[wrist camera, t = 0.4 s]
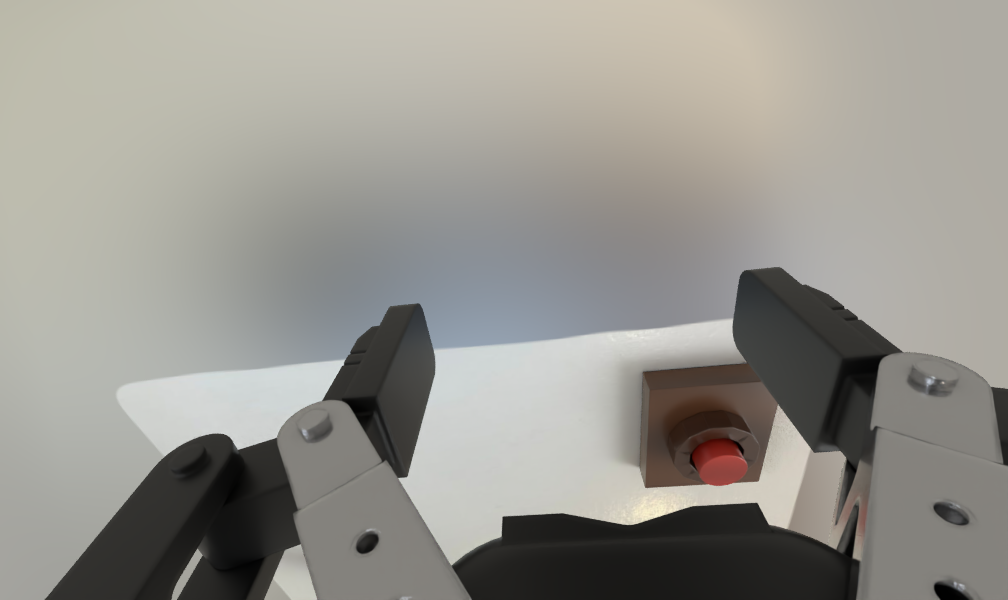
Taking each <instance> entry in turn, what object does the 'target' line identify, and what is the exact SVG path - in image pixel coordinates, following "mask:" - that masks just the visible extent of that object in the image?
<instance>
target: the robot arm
mask: <svg viewBox="0 0 1008 600" xmlns="http://www.w3.org/2000/svg"><path fill="white" fill-rule="evenodd" d="M733 337H734V341H735V344H736V347H737V349H738V350H739V352H740V353H741V354H742V356H743V357H744V358H745V360H746V361H747V363H748V364H749V365H750V367H751V368H752V369H753V371H754V372H755V373H756V375H757V376H758V377H759V379H760V380H761V381H762V383H763V384H764V386H765V387H766V388H767V390H768V391H769V392H770V394H771V395H772V396H773V398H774V399H775V400H776V402H777V403H778V404H779V406H780V407H781V408H782V410H783V411H784V413H785V414H786V415H787V417H788V418H789V419H790V421H791V422H792V423H793V425H794V426H795V427H796V429H797V430H798V431H799V433H800V434H801V436H802V437H803V438H804V440H805V441H806V442H807V444H808V445H809V446H810V448H811V449H812V450H813V452H814V453H816V452H830V451H831V452H832V451H841V452H842V453H843V454H844V455H845V457H846V460H845V463H844V465H843V468H842V471H841V477H840V482H839V488H838V493H837V498H836V504H835V509H834V514H833V520H832V525H831V531H830V536H829V541H828V545H826V544H824V543H822V542H820V541H818V540H815V539H813V538H811V537H808V536H805V535H803V534H800V533H797V532H795V531H791V530H788V529H784V528H781V527H777V526H772V525H769V524H768V522H767V521H766V519H765V517H764V515H763V513H762V511H761V509H760V507H759V505H758V503H745V504H727V505H709V506H692V507H689V508H685V509H682V510H679V511H676V512H673V513H670V514H667V515H663V516H660V517H657V518H654V519H651V520H648V521H644V522H641V523H638V524H634V525H622V524H617V523H611V522H606V521H601V520H595V519H590V518H584V517H579V516H574V515H568V514H563V513H561V514H543V515H524V516H506V517H503V520H502V537H500V538H497V539H494V540H491V541H489V542H487V543H485V544H483V545H481V546H479V547H477V548H475V549H474V550H472V551H470V552H469V553H467V554H466V555H464V556H463V557H462V558H460V559H459V560H458V561H457V562H455V563H454V564H453V565H452V566H451V565H450V563H449V561H448V560H447V558H446V556H445V555H444V553H443V551H442V550H441V548H440V547H439V545H438V543H437V542H436V540H435V538H434V537H433V535H432V533H431V532H430V530H429V529H428V527H427V525H426V524H425V522H424V520H423V519H422V517H421V515H420V514H419V512H418V510H417V509H416V507H415V506H414V504H413V502H412V501H411V499H410V497H409V496H408V494H407V492H406V491H405V489H404V488H403V486H402V484H401V483H400V481H399V479H398V478H402V477H407V476H408V472H409V468H410V465H411V461H412V457H413V454H414V450H415V446H416V442H417V439H418V435H419V431H420V428H421V424H422V420H423V416H424V413H425V409H426V405H427V402H428V398H429V394H430V390H431V387H432V383H433V379H434V375H435V355H434V350H433V347H432V343H431V339H430V335H429V331H428V328H427V324H426V320H425V316H424V312H423V309H422V307H421V305H420V304H408V305H398V306H390V307H389V309H388V311H387V313H386V314H385V316H384V318H383V320H382V322H381V324H380V326H374V327H371V328H370V329H369V330H368V331H366V332H365V333H364V334H363V335H362V336H361V337H360V338H358V339H357V341H356V343H355V345H354V346H353V348H352V350H351V352H350V353H351V354H350V355H348V357H347V359H346V360H345V362H344V366H342V367H341V369H340V371H339V373H338V374H337V376H336V378H335V379H334V381H333V383H332V385H331V386H330V388H329V390H328V392H327V393H326V395H325V397H324V399H323V400H322V401H321V402H317V403H314V404H312V405H309V406H307V407H305V408H303V409H301V410H300V411H298V412H297V413H295V414H294V415H293V416H291V417H290V418H289V419H288V420H287V421H286V422H285V423H284V425H283V426H282V427H281V429H280V431H279V433H278V436H277V438H275V439H272V440H269V441H265V442H262V443H259V444H256V445H253V446H249V447H246V448H243V449H240V450H237V448H236V446H235V445H234V443H233V441H232V440H231V438H230V437H228V436H227V435H224V434H209V435H205V436H201V437H198V438H196V439H193V440H191V441H189V442H186V443H185V444H183V445H181V446H179V447H178V448H176V449H175V450H173V451H172V452H170V453H169V454H168V455H166V456H165V457H164V458H163V459H162V460H161V461H160V462H159V463H158V464H157V465H156V466H155V467H154V468H153V470H152V471H151V472H150V473H149V474H148V476H147V477H146V478H145V479H144V481H143V482H142V483H141V484H140V485H139V486H138V488H137V489H136V490H135V492H133V494H132V495H131V496H130V498H129V499H128V500H127V501H126V502H125V503H124V505H123V506H122V507H121V509H119V511H118V512H117V513H116V514H115V515H114V517H113V518H112V519H111V520H110V522H109V523H108V524H107V525H106V526H105V528H104V529H103V530H102V531H101V532H100V534H99V535H98V536H97V537H96V538H95V540H94V541H93V542H92V543H91V544H90V546H89V547H88V548H87V549H86V551H85V552H84V553H83V554H82V555H81V557H80V558H79V559H78V560H77V561H76V563H75V564H74V565H73V566H72V568H71V569H70V570H69V571H68V573H67V574H66V575H65V576H64V577H63V578H62V580H61V581H60V582H59V583H58V585H57V586H56V587H55V588H54V589H53V591H52V592H51V593H50V594H49V596H48V597H47V598H46V599H45V600H171V599H172V594H173V590H174V588H175V586H176V583H177V582H178V580H179V578H180V576H181V574H182V573H183V571H184V570H185V568H186V566H187V565H188V563H189V561H190V560H191V558H192V556H193V555H194V553H195V551H196V550H197V548H198V549H199V551H200V552H201V553H202V555H203V556H202V558H201V559H200V561H199V563H198V564H197V566H196V568H195V570H194V571H193V573H192V575H191V577H190V578H189V580H188V582H187V583H186V585H185V587H184V588H183V590H182V592H181V594H180V596H179V597H178V599H177V600H264V598H265V596H266V593H267V591H268V589H269V586H270V584H271V581H272V579H273V577H274V574H275V572H276V570H277V567H278V565H279V562H280V560H281V558H282V555H283V553H284V551H285V550H286V549H289V548H291V547H294V546H297V545H300V544H301V546H302V549H303V552H304V556H305V559H306V562H307V566H308V569H309V573H310V576H311V579H312V583H313V586H314V590H315V593H316V596H317V600H1008V389H1004V388H994V387H990V385H989V384H988V383H987V381H986V380H985V379H984V378H983V377H981V376H980V375H979V374H977V373H976V372H974V371H973V370H970V369H969V368H967V367H965V366H963V365H961V364H958V363H956V362H954V361H950V360H948V359H945V358H942V357H937V356H933V355H928V354H922V353H910V352H909V353H908V352H905V353H903V352H902V351H901V350H900V349H898V348H897V347H896V346H894V345H893V344H892V343H890V342H889V341H888V340H887V339H885V338H884V337H883V336H881V335H880V334H879V333H878V332H876V331H875V330H874V329H872V328H871V327H870V326H869V325H867V324H866V323H865V322H863V321H862V320H858V317H857V316H856V315H854V314H853V313H852V312H850V311H849V310H848V309H844V306H843V305H841V304H840V303H839V302H838V301H836V300H835V299H834V298H832V297H831V296H830V295H829V294H826V293H824V292H822V291H819V290H817V289H814V288H812V287H810V286H807V285H802V284H800V283H799V282H798V281H797V280H795V279H794V278H793V277H792V276H791V275H789V274H788V273H787V272H786V271H784V270H783V269H782V268H780V267H774V268H765V269H754V270H746V271H744V272H742V274H741V276H740V279H739V285H738V291H737V298H736V306H735V313H734V319H733Z"/></svg>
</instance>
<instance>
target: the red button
mask: <svg viewBox="0 0 1008 600" xmlns="http://www.w3.org/2000/svg"><path fill="white" fill-rule="evenodd" d="M692 459H693V461H694V464H695V466H696V469H697V471H698V473H699V476H700V478H701V479H702V480H703V481H704V482H705V483H707V484H710V485H715V486H723V485H728V484H732V483H734V482H736V481H738V480H740V479H741V478H742V477H743V476H744V475H745V474H746V472H747V468H748V466H747V463H746V461H745V459H744V457H743V455H742V453H741V452H740V450H739V448H738V446H737V444H736V443H735V442H733V441H732V440H730V439H727V438H720V439H711V440H708V441H706V442H704V443H701V444H699V445H698V446H697V447H696V448H695V449H694V450H693V453H692Z"/></svg>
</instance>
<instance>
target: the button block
mask: <svg viewBox="0 0 1008 600" xmlns="http://www.w3.org/2000/svg"><path fill="white" fill-rule="evenodd" d="M777 405H778V403H777V402H776V400H775V399H774V398H773V396H772V395H771V394H770V392H769V391H768V390H767V388H766V387H765V386H764V384H763V383H762V381H761V380H760V379H759V377H758V376H757V375H756V373H755V372H754V371H753V369H752V368H751V367H750V365H749V364H736V365H724V366H712V367H699V368H687V369H675V370H663V371H651V372H643V388H642V416H641V445H640V471H641V475H642V478H643V482H644V485H645V488H653V487H671V486H688V485H705V484H707V483H705V482H704V481H703V480H702V479H701V478H700V476H699V473H698V471H697V469H696V466H695V464H694V461H693V459H692V453H693V450H694V449H695V448H696V447H697V446H698V445H699V444H701V443H704V442H706V441H708V440H711V439H720V438H727V439H730V440H732V441H733V442H735V443H736V444H737V446H738V448H739V450H740V452H741V453H742V455H743V457H744V459H745V461H746V463H747V466H748V468H747V472H746V474H745V475H744V476H743V477H742V478H741V479H740V480H738V481H736V482H734V483H740V482H757V481H759V478H760V474H761V470H762V466H763V462H764V458H765V454H766V450H767V446H768V442H769V438H770V434H771V430H772V426H773V421H774V417H775V413H776V409H777Z"/></svg>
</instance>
